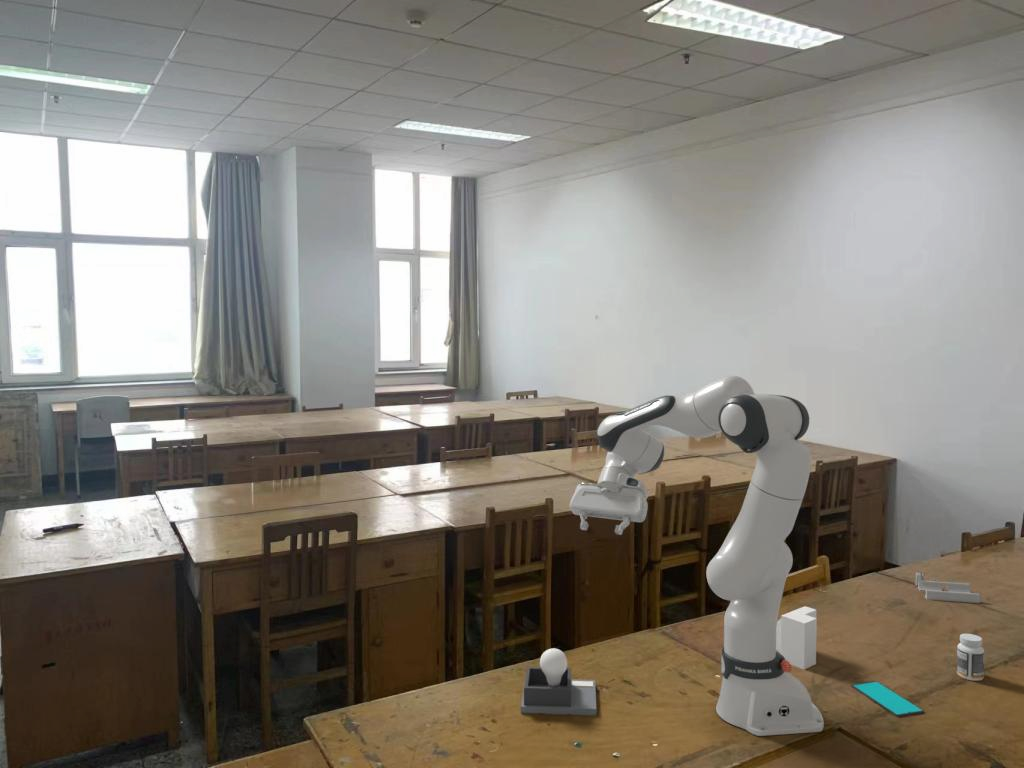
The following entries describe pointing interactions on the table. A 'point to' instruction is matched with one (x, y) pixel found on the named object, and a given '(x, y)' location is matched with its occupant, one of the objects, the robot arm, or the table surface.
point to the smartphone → (887, 699)
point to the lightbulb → (553, 666)
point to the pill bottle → (970, 657)
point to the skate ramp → (953, 593)
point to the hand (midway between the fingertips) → (600, 531)
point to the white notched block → (798, 637)
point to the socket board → (557, 694)
